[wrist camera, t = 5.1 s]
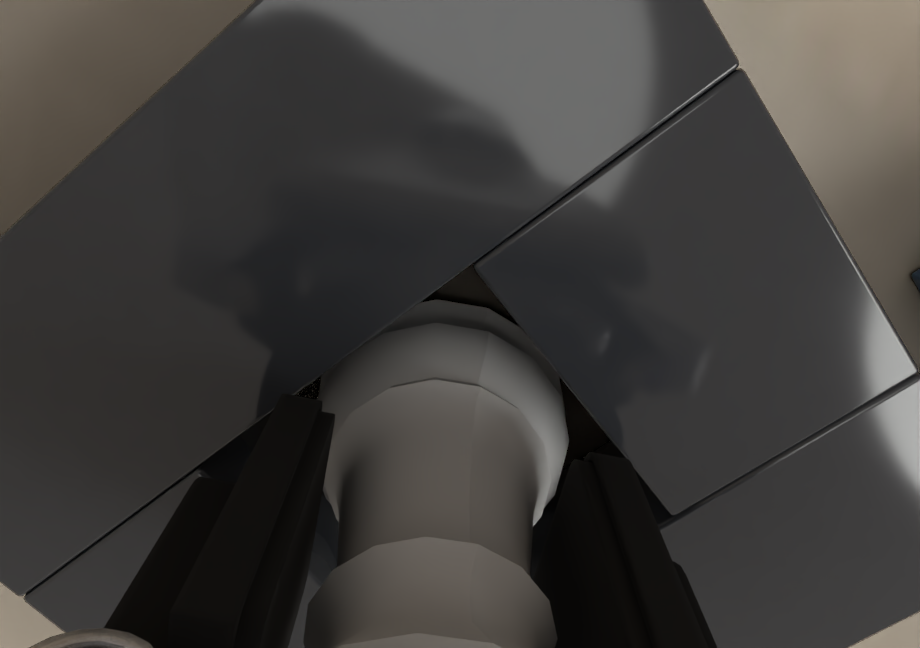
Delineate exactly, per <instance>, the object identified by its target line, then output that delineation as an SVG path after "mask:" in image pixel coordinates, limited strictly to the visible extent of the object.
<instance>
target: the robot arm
mask: <svg viewBox="0 0 920 648" xmlns="http://www.w3.org/2000/svg"><path fill="white" fill-rule="evenodd" d="M334 422H335V414H333V413H328V412H323V411H322V401H321V400H315V399H310V398H305V397H300V396H294V395H289V394H282V395H281V396H280V398H279V400H278V402H277V404H276V406H275V408H274V410H273V412H272V414H271V416H270V418H269V420H268V422H267V423H266V425H265V427H264V429H263V431H262V433H261V435H260V437H259V439H258V441H257V443H256V445H255V447H254V449H253V451H252V453H251V455H250V457H249V459H248V461H247V462H246V464H245V466H244V468H243V470H242V472H241V474H240V476H239V478H238V480H237V482H236V483H233V482H227V481H222V480H216V479H211V478H205V477H199V478H197V479H196V480H195V481H194V482H193V484H192V485H191V486H190V488H189V489H188V491H187V493H186V494H185V496H184V498H183V499H182V501H181V503H180V504H179V506H178V507H177V509H176V511H175V512H174V514H173V516H172V517H171V519H170V521H169V522H168V524H167V525H166V527H165V529H164V530H163V532H162V534H161V535H160V537H159V538H158V540H157V542H156V543H155V545H154V547H153V548H152V550H151V552H150V553H149V555H148V556H147V558H146V560H145V561H144V563H143V565H142V566H141V568H140V569H139V571H138V573H137V574H136V576H135V578H134V579H133V581H132V583H131V584H130V586H129V587H128V589H127V591H126V592H125V594H124V596H123V597H122V599H121V600H120V602H119V604H118V605H117V607H116V609H115V610H114V612H113V614H112V615H111V617H110V618H109V620H108V622H107V623H106V625H105V627H104V628H97V629H79V630H75V631H71V632H67V633H64V634H60V635H56V636H52V637H49V638H47V639H45V640H43V641H41V642H39V643H37V644H35V645H33V646H31V647H29V648H288V646H289V642H290V639H291V635H292V632H293V628H294V625H295V621H296V618H297V614H298V611H299V607H300V604H301V600H302V597H303V593H304V589H305V585H306V581H307V576H308V571H309V566H310V561H311V555H312V549H313V543H314V538H315V532H316V526H317V520H318V515H319V509H320V503H321V497H322V492H323V486H324V480H325V474H326V469H327V463H328V457H329V451H330V446H331V440H332V434H333V428H334ZM533 581H534V583H535V584H536V585H537V586H538V587H539V589H540V590H541V591H542V592H543V593H544V595H545V596H546V597H547V598H548V599H549V601H550V606H551V610H552V615H553V620H554V624H555V629H556V634H557V638H558V639H557V642H556V645H555V648H717V645H716V643H715V641H714V638H713V636H712V634H711V631H710V629H709V627H708V624H707V622H706V620H705V617H704V615H703V613H702V610H701V608H700V606H699V604H698V601H697V599H696V597H695V594H694V592H693V590H692V587H691V585H690V583H689V580H688V578H687V576H686V574H685V572H684V570H683V569H682V567H681V565H679V564H677V563H676V562H673V561H672V559H671V556H670V554H669V551H668V549H667V547H666V544H665V542H664V539H663V537H662V535H661V532H660V530H659V527H658V525H657V523H656V520H655V518H654V515H653V513H652V511H651V508H650V506H649V503H648V501H647V499H646V496H645V494H644V491H643V489H642V487H641V484H640V482H639V479H638V477H637V475H636V472H635V470H634V467H633V465H632V463H631V461H630V460H629V459H625V458H620V457H614V456H609V455H604V454H599V453H593V452H590V453H588V454H587V455H586V457H585V459H584V461H581V460H576V459H575V460H573V461H572V463H571V464H570V467H569V470H568V473H567V476H566V479H565V482H564V485H563V488H562V491H561V494H560V497H559V500H558V504H557V507H556V510H555V513H554V516H553V519H552V522H551V525H550V528H549V531H548V534H547V538H546V541H545V544H544V547H543V550H542V553H541V556H540V559H539V562H538V565H537V568H536V571H535V575H534V578H533Z"/></svg>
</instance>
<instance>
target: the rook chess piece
mask: <svg viewBox="0 0 920 648" xmlns="http://www.w3.org/2000/svg"><path fill="white" fill-rule="evenodd" d="M316 400H321V401H322V411H323V412H328V413H333V414H335V422H334V428H333V434H332V440H331V446H330V451H329V457H328V463H327V469H326V474H325V480H324V486H323V492H324V494H325V497H326V499H327V500H328V501H329V503H330V504H331V505H332V508H333V511H334V514H335V517H336V519H337V521H338V522H339V528H338V553H337V566H336V568H335V569H333V570H332V571H331V573H330V574H329V576H328V577H327V578H326V580H325V581H324V583H323V584H322V585H321V587H320V588H319V590H318V591H317V592H316V594H315V595H314V597H313V598H312V599H311V601H310V602H309V603H308V608H307V616H306V623H305V631H304V639H303V644H304V646H305V648H555V645H556V642H557V639H558V638H557V634H556V629H555V624H554V620H553V615H552V610H551V606H550V601H549V599H548V598H547V597H546V596H545V595H544V593H543V592H542V591H541V590H540V589H539V587H538V586H537V585H536V584H535V583H534V581H533V580H532V579H531V576H530V569H531V551H532V532H533V526H534V525H535V524H536V522H537V521H538V520H539V519H540V518H541V516H542V513H543V510H544V508H545V506H546V505H547V504H548V503H549V502H550V500H551V499H552V498H553V497H554V495H555V493H556V489H557V486H558V482H559V478H560V475H561V471H562V467H563V464H564V460H565V456H566V453H567V449H568V444H569V437H568V431H567V426H566V420H565V417H566V413H565V407H564V402H563V396H562V391H561V385H560V380H559V375H558V374H557V373H556V371H555V370H554V369H553V368H552V366H551V365H550V364H549V363H548V361H547V360H546V359H545V358H544V356H543V355H542V354H541V353H540V351H539V350H538V349H537V348H536V346H535V345H534V344H533V343H532V341H531V340H530V339H529V338H528V336H527V335H526V334H525V333H524V331H523V330H522V329H521V328H520V327H519V326H517V325H515V324H514V323H512V322H510V321H509V320H507V319H505V318H504V317H502V316H501V315H499V314H497V313H496V312H494V311H492V310H491V309H489V308H485V307H479V306H473V305H467V304H461V303H455V302H449V301H443V300H432V301H427V302H422V303H419V304H418V305H416V306H415V307H414V308H412V309H411V310H410V311H408V312H407V313H405V314H404V315H403V316H401V317H400V318H399V319H397V320H396V321H395V322H393V323H392V324H391V325H389V326H388V327H387V328H385V329H384V330H382V331H381V332H380V333H378V334H377V335H376V336H374V337H373V338H372V339H370V340H369V341H368V342H366V343H365V344H364V345H362V346H361V347H359V348H358V349H357V350H355V351H354V352H353V353H351V354H350V355H349V356H347V357H346V358H345V359H343V360H342V361H340V362H339V363H338V364H336V365H335V366H334V367H332V368H331V369H330V370H328V371H327V372H326V373H324V374H323V375H322V376H321V380H320V389H319V396H318V398H317V399H316Z"/></svg>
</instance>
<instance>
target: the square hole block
mask: <svg viewBox="0 0 920 648" xmlns="http://www.w3.org/2000/svg"><path fill="white" fill-rule="evenodd" d="M738 66H739V62H738V59H737V57H736V55H735V53H734V52H733V50H732V48H731V47H730V45H729V43H728V41H727V40H726V38H725V36H724V35H723V33H722V31H721V29H720V28H719V26H718V24H717V23H716V21H715V19H714V18H713V16H712V14H711V12H710V11H709V9H708V7H707V6H706V4H705V2H704V0H254V1H253V2H252V3H251V4H250V5H249V6H248V7H247V8H246V9H245V10H244V11H243V12H241V13H240V14H239V15H238V16H237V17H236V18H235V19H234V20H233V21H232V22H231V23H230V24H229V25H227V26H226V27H225V28H224V29H223V30H222V31H221V32H220V33H219V34H218V35H217V36H216V37H215V38H213V39H212V40H211V41H210V42H209V43H208V44H207V45H206V46H205V47H204V48H203V49H202V50H200V51H199V52H198V53H197V54H196V55H195V56H194V57H193V58H192V59H191V60H190V61H189V62H188V63H186V64H185V65H184V66H183V67H182V68H181V69H180V70H179V71H178V72H177V73H176V74H175V75H174V76H172V77H171V78H170V79H169V80H168V81H167V82H166V83H165V84H164V85H163V86H162V87H161V88H160V89H158V90H157V91H156V92H155V93H154V94H153V95H152V96H151V97H150V98H149V99H148V100H147V101H145V102H144V103H143V104H142V105H141V106H140V107H139V108H138V109H137V110H136V111H135V112H134V113H133V114H131V115H130V116H129V117H128V118H127V119H126V120H125V121H124V122H123V123H122V124H121V125H120V126H119V127H117V128H116V129H115V130H114V131H113V132H112V133H111V134H110V135H109V136H108V137H107V138H106V139H105V140H103V141H102V142H101V143H100V144H99V145H98V146H97V147H96V148H95V149H94V150H93V151H92V152H90V153H89V154H88V155H87V156H86V157H85V158H84V159H83V160H82V161H81V162H80V163H79V164H78V165H76V166H75V167H74V168H73V169H72V170H71V171H70V172H69V173H68V174H67V175H66V176H65V177H64V178H62V179H61V180H60V181H59V182H58V183H57V184H56V185H55V186H54V187H53V188H52V189H51V190H49V191H48V192H47V193H46V194H45V195H44V196H43V197H42V198H41V199H40V200H39V201H38V202H37V203H35V204H34V205H33V206H32V207H31V208H30V209H29V210H28V211H27V212H26V213H25V214H24V215H23V216H21V217H20V218H19V219H18V220H17V221H16V222H15V223H14V224H13V225H12V226H11V227H10V228H9V229H7V230H6V231H5V232H4V233H3V234H2V235H1V236H0V582H1V583H2V584H3V585H4V586H6V587H7V588H8V589H10V590H11V591H12V592H13V593H15V594H16V595H18V596H23V595H25V594H26V595H25V597H24V600H25V602H27V603H28V604H29V605H30V606H32V607H33V608H34V609H35V610H37V611H38V612H39V613H41V614H42V615H43V616H44V617H46V618H47V619H48V620H50V621H51V622H52V623H53V624H55V625H56V626H57V627H58V628H60V629H61V630H62V631H64V632H65V633H67V632H71V631H75V630H79V629H97V628H104V627H105V625H106V623H107V622H108V620H109V618H110V617H111V615H112V614H113V612H114V610H115V609H116V607H117V605H118V604H119V602H120V600H121V599H122V597H123V596H124V594H125V592H126V591H127V589H128V587H129V586H130V584H131V583H132V581H133V579H134V578H135V576H136V574H137V573H138V571H139V569H140V568H141V566H142V565H143V563H144V561H145V560H146V558H147V556H148V555H149V553H150V552H151V550H152V548H153V547H154V545H155V543H156V542H157V540H158V538H159V537H160V535H161V534H162V532H163V530H164V529H165V527H166V525H167V524H168V522H169V521H170V519H171V517H172V516H173V514H174V512H175V511H176V509H177V507H178V506H179V504H180V503H181V501H182V499H183V498H184V496H185V494H186V493H187V491H188V489H189V488H190V486H191V485H192V484H193V482H194V481H195V480H196V479H197V478H199V477H205V478H211V479H216V480H222V481H227V482H233V483H236V482H237V480H238V478H239V476H240V474H241V472H242V470H243V468H244V466H245V464H246V462H247V461H248V459H249V457H250V455H251V453H252V451H253V449H254V447H255V445H256V443H257V441H258V439H259V437H260V435H261V433H262V431H263V429H264V427H265V425H266V423H267V422H268V420H269V418H270V416H271V414H272V412H273V410H274V408H275V406H276V404H277V402H278V400H279V398H280V396H281V395H282V394H289V395H296V394H297V393H298V392H300V391H301V390H303V389H304V388H305V387H307V386H308V385H309V384H311V383H312V382H313V381H315V380H316V379H317V378H319V377H320V376H322V375H323V374H324V373H326V372H327V371H328V370H330V369H331V368H332V367H334V366H335V365H336V364H338V363H339V362H340V361H342V360H343V359H345V358H346V357H347V356H349V355H350V354H351V353H353V352H354V351H355V350H357V349H358V348H359V347H361V346H362V345H364V344H365V343H366V342H368V341H369V340H370V339H372V338H373V337H374V336H376V335H377V334H378V333H380V332H381V331H382V330H384V329H385V328H387V327H388V326H389V325H391V324H392V323H393V322H395V321H396V320H397V319H399V318H400V317H401V316H403V315H404V314H405V313H407V312H408V311H410V310H411V309H412V308H414V307H415V306H416V305H418V304H419V303H420V302H422V301H423V300H424V299H426V298H427V297H429V296H430V295H431V294H433V293H434V292H435V291H437V290H438V289H439V288H441V287H442V286H443V285H445V284H446V283H447V282H449V281H450V280H452V279H453V278H454V277H456V276H457V275H458V274H460V273H461V272H462V271H464V270H465V269H466V268H468V267H469V266H471V265H472V264H473V266H474V270H475V271H476V272H477V274H478V275H479V276H480V277H481V279H482V280H483V281H484V282H485V284H486V285H487V286H488V287H489V289H490V290H491V291H492V292H493V294H494V295H495V296H496V297H497V299H498V300H499V301H500V302H501V304H502V305H503V306H504V307H505V309H506V310H507V311H508V312H509V314H510V315H511V316H512V317H513V319H514V320H515V321H516V322H517V324H518V325H519V326H520V328H521V329H522V330H523V331H524V333H525V334H526V335H527V336H528V338H529V339H530V340H531V341H532V343H533V344H534V345H535V346H536V348H537V349H538V350H539V351H540V353H541V354H542V355H543V356H544V358H545V359H546V360H547V361H548V363H549V364H550V365H551V366H552V368H553V369H554V370H555V371H556V373H557V374H558V375H559V376H560V378H561V379H562V380H563V381H564V383H565V384H566V385H567V386H568V388H569V389H570V390H571V392H572V393H573V394H574V395H575V397H576V398H577V399H578V400H579V402H580V403H581V404H582V405H583V407H584V408H585V409H586V410H587V412H588V413H589V414H590V415H591V417H592V418H593V419H594V420H595V422H596V423H597V424H598V425H599V427H600V428H601V429H602V430H603V432H604V433H605V434H606V435H607V437H608V438H609V439H610V440H611V441H609V442H608V443H606V444H604V445H603V446H601V447H600V448H598V449H597V450H595V451H593V453H599V454H604V455H609V456H614V457H620V458H625V459H629V460H630V461H631V463H632V465H633V467H634V470H635V472H636V475H637V477H638V479H639V482H640V484H641V487H642V489H643V491H644V494H645V496H646V499H647V501H648V503H649V506H650V508H651V511H652V513H653V515H654V518H655V520H656V523H657V525H658V527H659V530H660V532H661V535H662V537H663V539H664V542H665V544H666V547H667V549H668V551H669V554H670V556H671V559H672V561H673V562H676V563H677V564H679V565H681V567H682V569H683V570H684V572H685V574H686V576H687V578H688V580H689V583H690V585H691V587H692V590H693V592H694V594H695V597H696V599H697V601H698V604H699V606H700V608H701V610H702V613H703V615H704V617H705V620H706V622H707V624H708V627H709V629H710V631H711V634H712V636H713V638H714V641H715V643H716V645H717V648H849V647H851V646H853V645H855V644H857V643H859V642H861V641H863V640H865V639H867V638H869V637H871V636H873V635H874V634H876V633H878V632H880V631H882V630H884V629H886V628H888V627H890V626H892V625H894V624H896V623H898V622H900V621H902V620H904V619H906V618H908V617H910V616H912V615H914V614H916V613H918V612H920V373H919V372H918V367H917V365H916V364H915V362H914V360H913V358H912V357H911V355H910V353H909V352H908V350H907V348H906V346H905V345H904V343H903V341H902V340H901V338H900V336H899V334H898V333H897V331H896V329H895V328H894V326H893V324H892V322H891V321H890V319H889V317H888V316H887V314H886V312H885V310H884V309H883V307H882V305H881V304H880V302H879V300H878V298H877V297H876V295H875V293H874V292H873V290H872V288H871V286H870V285H869V283H868V281H867V280H866V278H865V276H864V274H863V273H862V271H861V269H860V268H859V266H858V264H857V262H856V261H855V259H854V257H853V256H852V254H851V252H850V250H849V249H848V247H847V245H846V244H845V242H844V240H843V238H842V237H841V235H840V233H839V232H838V230H837V228H836V226H835V225H834V223H833V221H832V220H831V218H830V216H829V214H828V213H827V211H826V209H825V208H824V206H823V204H822V202H821V201H820V199H819V197H818V196H817V194H816V192H815V190H814V189H813V187H812V185H811V184H810V182H809V180H808V178H807V177H806V175H805V173H804V172H803V170H802V168H801V166H800V165H799V163H798V161H797V160H796V158H795V156H794V155H793V153H792V151H791V149H790V148H789V146H788V144H787V143H786V141H785V139H784V137H783V136H782V134H781V132H780V131H779V129H778V127H777V125H776V124H775V122H774V120H773V119H772V117H771V115H770V113H769V112H768V110H767V108H766V107H765V105H764V103H763V101H762V100H761V98H760V96H759V95H758V93H757V91H756V89H755V88H754V86H753V84H752V83H751V81H750V79H749V77H748V76H747V74H746V72H745V71H744V70H742V69H741V68H737V67H738ZM585 457H586V456H585ZM585 457H584V458H582V459H581V461H584V459H585ZM568 470H569V467H568V468H566V469H565V470H563V471H562V472H561V475H560V478H559V482H558V486H557V489H556V493H555V495H554V497H553V498H552V499H551V500H550V502H549V503H548V504H547V505H546V506H545V508H544V510H543V513H542V516H541V518H540V519H539V520H538V521H537V522H536V524H535V525H534V526H533V532H532V551H531V569H530V576H531V579H532V580H533V578H534V575H535V571H536V568H537V565H538V562H539V559H540V556H541V553H542V550H543V547H544V544H545V541H546V538H547V534H548V531H549V528H550V525H551V522H552V519H553V516H554V513H555V510H556V507H557V504H558V500H559V497H560V494H561V491H562V488H563V485H564V482H565V479H566V476H567V473H568ZM338 528H339V522H338V521H337V519H336V517H335V514H334V511H333V508H332V505H331V504H330V503H329V501H328V500H327V499H326V497H325V494H324V492H322V497H321V503H320V509H319V515H318V520H317V526H316V532H315V538H314V543H313V549H312V555H311V561H310V566H309V571H308V576H307V581H306V585H305V589H304V593H303V597H302V600H301V604H300V607H299V611H298V614H297V618H296V621H295V625H294V628H293V632H292V635H291V639H290V642H289V646H288V648H305V646H304V644H303V639H304V631H305V623H306V616H307V608H308V603H309V602H310V601H311V599H312V598H313V597H314V595H315V594H316V592H317V591H318V590H319V588H320V587H321V585H322V584H323V583H324V581H325V580H326V578H327V577H328V576H329V574H330V573H331V571H332V570H333V569H335V568H336V566H337V553H338Z"/></svg>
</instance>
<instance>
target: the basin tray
mask: <svg viewBox="0 0 920 648" xmlns="http://www.w3.org/2000/svg"><path fill="white" fill-rule="evenodd" d="M912 278H913V280H914V282H915V284H916V286H917V287H918V289H919V291H920V269H919V270H917V271H915V272H914V273H913V274H912Z"/></svg>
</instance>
